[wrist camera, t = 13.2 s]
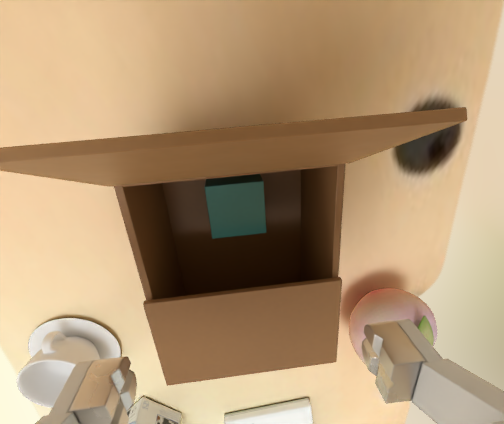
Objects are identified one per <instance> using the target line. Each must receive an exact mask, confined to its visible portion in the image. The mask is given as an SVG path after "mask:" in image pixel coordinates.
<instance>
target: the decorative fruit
mask: <svg viewBox="0 0 504 424" xmlns="http://www.w3.org/2000/svg"><path fill="white" fill-rule="evenodd" d="M402 319H410V320H411V321H412V322H413V323H414V324H415V325H416V327H417V328H418V329H419V330H420V332H421V333H422V334H423V335H424V336H425V338H426V339H427V340H428V341H429V343H430V344H431V345H432V346H434V344H435V342H436V338H437V326H436V321H435V318H434V315H433V313H432V311H431V310H430V308H429V307H428V306H427V304H426V303H424V302H423V301H422V300H421V299H420V298H418V297H416V296H415V295H413V294H411V293H409V292H406V291H403V290H400V289H394V288H383V289H377V290H374V291H371V292H369V293H367V294H366V295H365V296H364V297H363V298H361V300H360V301H359V302H358V303H357V305H356V306H355V308H354V309H353V311H352V314H351V317H350V322H349V335H350V340H351V343H352V345H353V347H354V349H355V351H356V353H357V355H358V356H359V358H360V359H361V360H362V361H363V363H364V364H365V361H364V358H363V354H362V341H363V340H364V339H365V338H366V336H365V334H364V333H363V332H364V327H365V325H366V324H372V323H379V322H386V321H395V320H402ZM365 365H366V364H365Z"/></svg>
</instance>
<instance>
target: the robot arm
mask: <svg viewBox="0 0 504 424" xmlns="http://www.w3.org/2000/svg"><path fill="white" fill-rule="evenodd" d="M363 333H364V334H365V336H366V338H365V339H364V340H363V341H362V354H363V358H364V361H365V364H366V366H367V368H368V370H369V371H370V372H372V373H373V374H374V375H376V376H377V377H376V385H377V387H378V389H379V391H380V393H381V395H382V397H383V399H384V401H385V403H394V402H402V401H411V400H412V403H414V404H415V405H416V406H417V407H418V408H419V409H420V410H422V411H423V412H424V413H425V414H426V415H428V416H429V417H430V418H431V419H432V420H433V421H434V422H436V423H437V424H504V391H502V390H501V389H499V388H497V387H495V386H494V385H492V384H490V383H489V382H487V381H485V380H483V379H482V378H480V377H478V376H476V375H475V374H473V373H471V372H470V371H468V370H466V369H464V368H462V367H461V366H459V365H457V364H456V363H454V362H452V361H450V360H449V359H442V357H441V356H440V355H439V354H438V352H437V351H436V350H435V349H434V348H433V346H432V345H431V344H430V343H429V341H428V340H427V339H426V338H425V336H424V335H423V334H422V333H421V332H420V330H419V329H418V328H417V327H416V325H415V324H414V323H413V322H412V321H411V320H410V319H402V320H395V321H386V322H379V323H372V324H366V325H365V327H364V332H363ZM130 364H131V363H130V361H129V358H128V357H119V358H109V359H99V360H91V361H83V362H79V363H77V364H76V365H75V367H74V368H73V370H72V372H71V374H70V376H69V377H68V379H67V381H66V383H65V385H64V387H63V389H62V391H61V393H60V395H59V396H58V398H57V400H56V402H55V404H54V406H53V408H52V410H51V412H50V413H49V415H47V416H43V417H42V418H41V419H40V420H39V421H38V422H36V423H35V424H128V421H129V417H128V415H127V411H128V410H129V408H130V407H131V406H132V405H133V403H134V400H135V396H136V386H137V383H136V377H135V374H134V372H132V371H131V370H129V367H130Z"/></svg>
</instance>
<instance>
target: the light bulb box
mask: <svg viewBox="0 0 504 424" xmlns="http://www.w3.org/2000/svg"><path fill="white" fill-rule="evenodd" d="M127 415H128V417H129V421H128V424H180V422H181V413H180V412H177V411H175V410H173V409H170V408H168V407H166V406H163V405H161V404H158V403H156V402H154V401H151V400H149V399H147V398H145V397H142V398H141V399H140V400H139V401H138V402H136V403H135V404H134V405H133V406H132V407H131V408H130V409H129V410H128V411H127Z"/></svg>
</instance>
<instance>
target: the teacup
mask: <svg viewBox="0 0 504 424" xmlns="http://www.w3.org/2000/svg"><path fill="white" fill-rule="evenodd" d="M28 348H29V352H30V355H31V357H32V358H31V359H30V361H29V362H28V363H27V364H26V365H25V366H24V367H23V368H22V369H21V371H20V372H19V374H18V376H17V386H18V388H19V390H20V392H21V393H22V394H23V395H24V396H25V397H26V398H28V399H29V400H30V401H32V402H34V403H36V404H39V405H41V406H45V407H50V408H53V406H54V404H55V402H56V400H57V398H58V396H59V395H60V393H61V391H62V389H63V387H64V385H65V383H66V381H67V379H68V377H69V376H70V374H71V372H72V370H73V368H74V367H75V365H76V364H77V363H79V362H83V361H91V360H99V359H109V358H119V357H120V356H121V350H120V346H119V343H118V341H117V340H116V338H115V337H114V336H113V335H112V334H111V333H110V332H109V331H108V330H106V329H105V328H103V327H102V326H100V325H98V324H96V323H93V322H90V321H87V320H83V319H76V318H62V319H55V320H52V321H48V322H46V323H44V324H42V325H40V326H39V327H38V328H36V329H35V330H34V332H33V333H32V334H31V336H30V339H29V342H28Z"/></svg>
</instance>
